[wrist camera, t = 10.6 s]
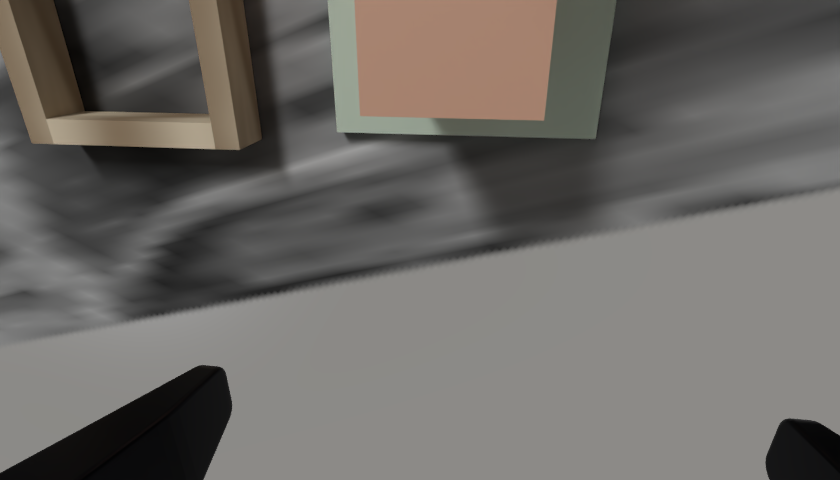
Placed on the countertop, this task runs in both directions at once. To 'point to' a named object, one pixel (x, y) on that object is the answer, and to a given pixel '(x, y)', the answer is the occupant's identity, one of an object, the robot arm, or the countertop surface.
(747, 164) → the countertop surface
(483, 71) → the part block
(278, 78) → the countertop surface
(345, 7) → the pad
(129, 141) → the wooden frame
